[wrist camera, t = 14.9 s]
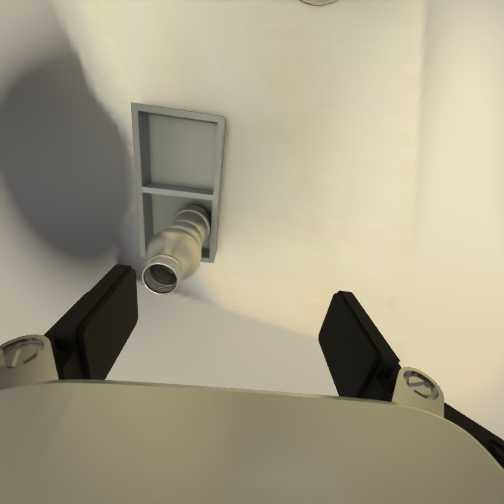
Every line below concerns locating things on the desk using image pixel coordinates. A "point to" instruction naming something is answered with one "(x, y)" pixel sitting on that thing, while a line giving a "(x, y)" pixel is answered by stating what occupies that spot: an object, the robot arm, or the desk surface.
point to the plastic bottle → (176, 250)
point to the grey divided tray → (177, 168)
